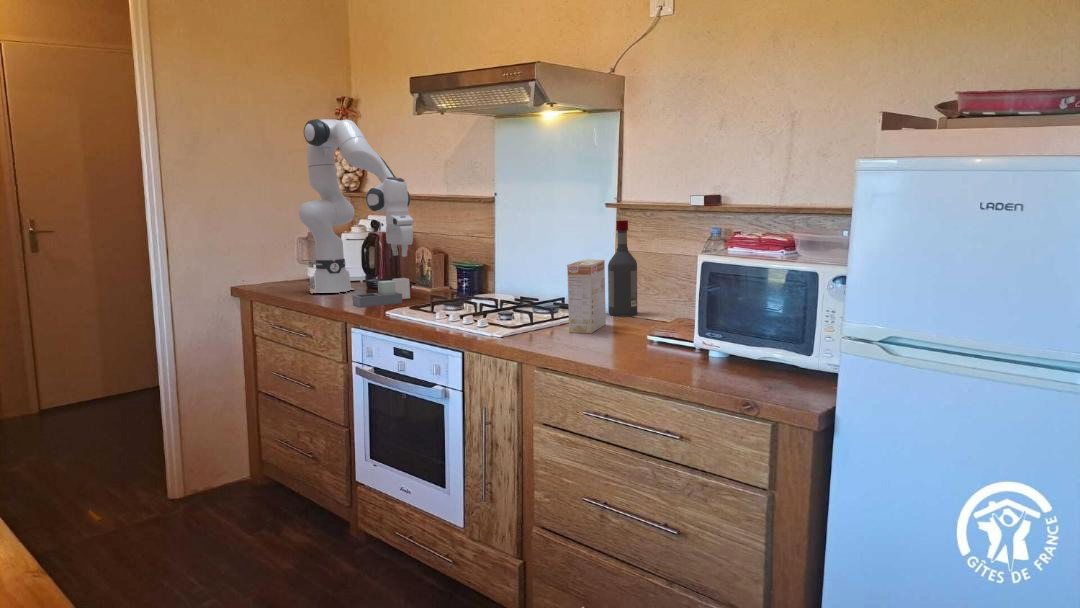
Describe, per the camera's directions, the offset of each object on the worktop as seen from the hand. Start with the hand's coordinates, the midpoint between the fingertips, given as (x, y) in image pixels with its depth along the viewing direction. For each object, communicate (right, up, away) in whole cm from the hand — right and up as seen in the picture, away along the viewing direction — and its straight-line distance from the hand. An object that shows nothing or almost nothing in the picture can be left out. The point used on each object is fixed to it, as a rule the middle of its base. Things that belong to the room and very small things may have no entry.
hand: (399, 256), depth 291 cm
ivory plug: (0, -17, +3) cm, 17 cm away
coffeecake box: (+68, -26, -72) cm, 102 cm away
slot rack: (-6, -19, -13) cm, 23 cm away
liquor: (+81, -22, -47) cm, 96 cm away
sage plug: (-3, -18, -11) cm, 21 cm away
